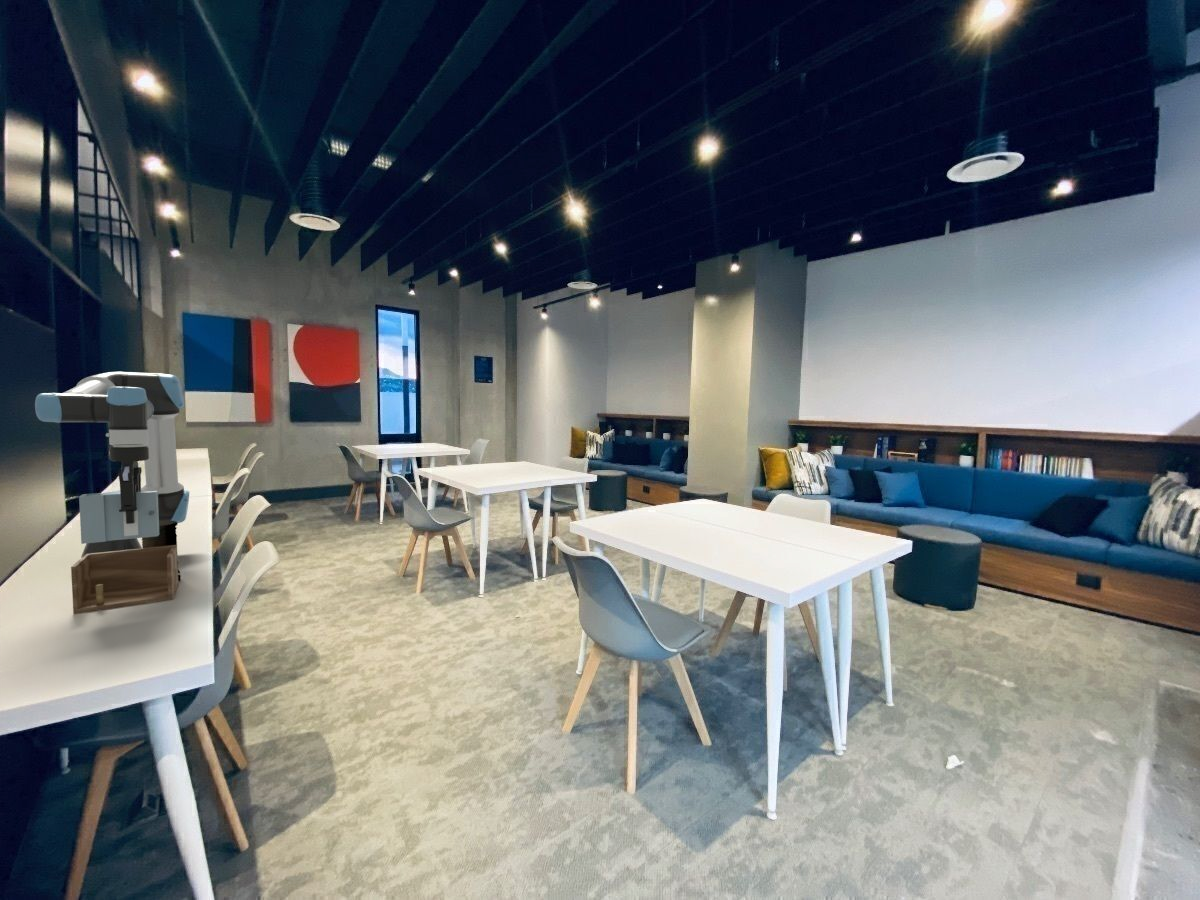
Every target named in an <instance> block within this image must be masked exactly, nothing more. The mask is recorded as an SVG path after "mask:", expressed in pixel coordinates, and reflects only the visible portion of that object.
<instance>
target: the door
mask: <svg viewBox="0 0 1200 900" xmlns="http://www.w3.org/2000/svg"><path fill="white" fill-rule="evenodd" d="M78 498H79V499H78V501H79V502H78V503H79V520H80V521H79V524H80V525H79V526H80V542H81V545H82V544H86V543H95V542H106V541H111V540H122V539H133V538H137V539H142V538H144V537H155V536H158V535H159V512H158V491H144V492H136V507H137V509H136V510H138V528H139V535H133V536H124V518H123V512H119V510H120V509H121V495H120V493H106V492H102V493H100V492H99V493H84V494H81V495H80V496H79V497H78Z"/></svg>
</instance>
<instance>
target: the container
mask: <svg viewBox="0 0 1200 900" xmlns="http://www.w3.org/2000/svg"><path fill="white" fill-rule="evenodd" d="M178 524H179V523H177V521H159V535H158V536H155V537H144V538H141V544H142V545H141V547H142V548H151V547H161V546H171V545H177V546H178V541H177V540H178V535H177V528H178V527H176V526H178ZM180 574H181V571H180V569H178V582H180V581H181V577H182V576H181V575H180Z"/></svg>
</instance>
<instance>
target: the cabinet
mask: <svg viewBox="0 0 1200 900" xmlns="http://www.w3.org/2000/svg"><path fill="white" fill-rule="evenodd" d="M178 559H179V558H178V544H177V545H171V546H161V547H151V548H141V549H131V550H121V551H111V552H101V553H91V554H86V555H85V556H83V557H82V558H81V557H80V559H78V561H76V562H75V563H74V564H73V565H72V566H71V567H70V571H71V573H70V574H71V590H72V591H71V592H72V609H73V610H72V612H73V614H74V615H75V614H81V613H89V612H94V611H100V610H110V609H114V608H124V607H129V606H134V605H142V604H149V603H155V602H157V603H158V602H161V601H170V600H173V599H174V597H175V593H176V591H177V589H178V587H179V581H178V570H179V561H178Z"/></svg>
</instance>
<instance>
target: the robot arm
mask: <svg viewBox="0 0 1200 900" xmlns="http://www.w3.org/2000/svg"><path fill="white" fill-rule="evenodd" d="M185 407H186V405H185V395H184V391H183V387H182V384H181V381H180V379H179V377H178V376H176V375H174V374H169V373H162V372H159V373H158V372H135V371H134V372H133V371H109V372H103V373H98V374H94V375H90V376H87V377H85V378H83V379H81V380H80V381H78V382H77V384H76V386H74V387H73V388H70V389H69V390H66V391H64V392H62V393H60V392H48V393H47V392H43V393H42V392H41V393H39V394H37V396H36V397H35V402H34V409H35V415H36V417H37V419H38V420H39V421H41V422H44V423H45V422H46V423H52V422H53V423H58V424H59V423H108V432H106V434H105V437H107V438H109V440H108V441H109V445H111V446H110V448H109V449H108V450H109V460H110V461H111V462H117V463H118V462H119V463H120V462H121V466H120V467H121V468H118V474H117V476H118V481H119V490H114V491H113V490H112V491H106V492H105V493H120V495H121V509H120V510H119V512H123V518H124V536H133V535H139V528H138V510H136V509H137V507H136V492H144V491H158V512H159V521H177V523H178V524H179V523H183V522H185V521H186V519H187V515H188V510H189V502H190V501H189V500H190V491H189V490H185V486H184V485H183V484H182V483H180V482H179V478H178V477H179V476H178V460H177V459H178V458H177V444H176V443H177V442H176V428H175V427H176V425H175V417H177V416H178V415H179V414H180V409H181V410H182V409H184V408H185ZM139 462H144V474H145V475H144V476H145V485H144V486H142V477H141V476H142V471H143V470H142V469H143V468H142V467H141V466H140V467H139ZM141 548H142V545H141V544H140V541H139V538H133V539H122V540H111V541H106V542H95V543H85V546H84V549H83V551H82V553H81V556H80V559H81V558H82V557H83V556H85V555H86V554H91V553H101V552H111V551H121V550H131V549H141Z"/></svg>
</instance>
